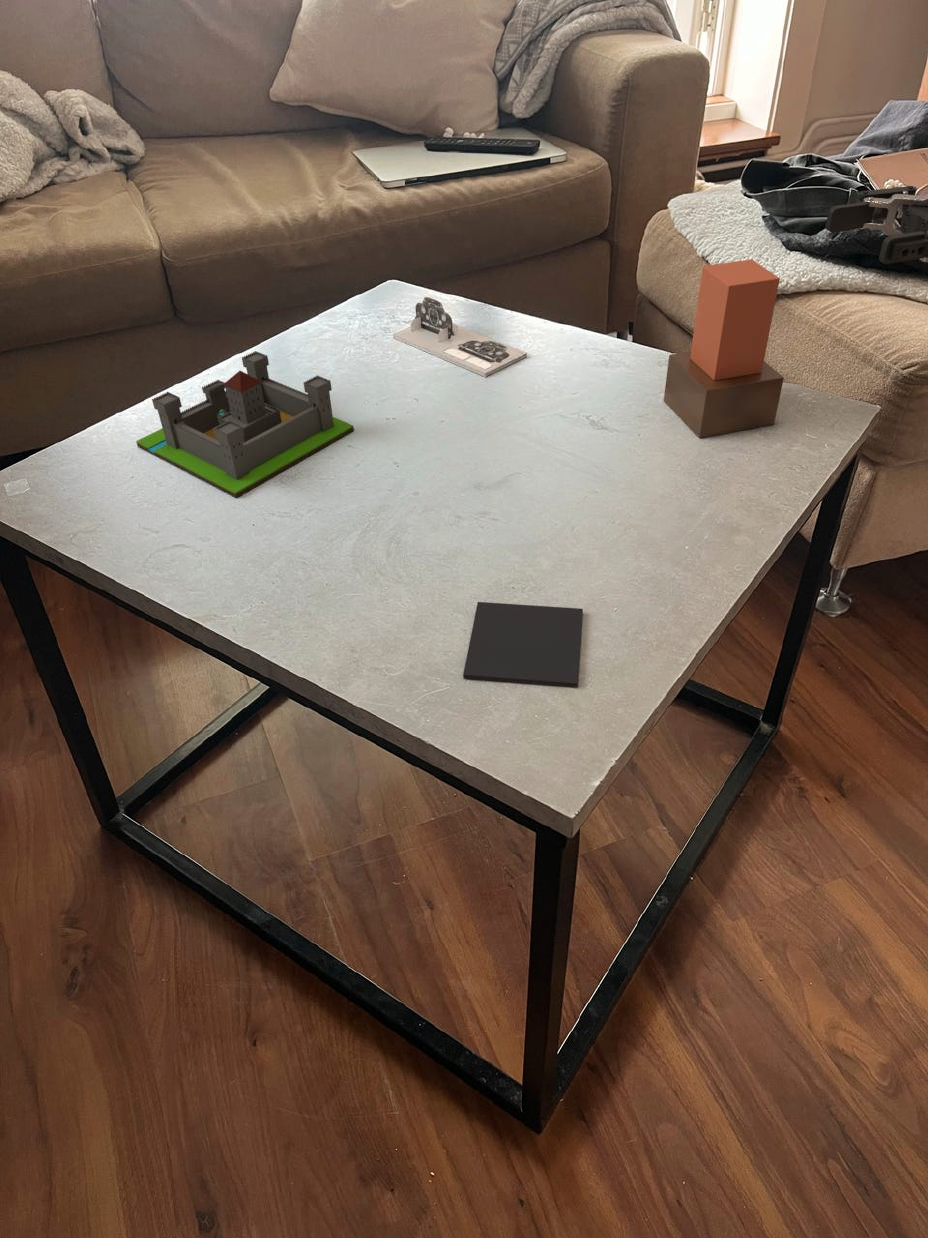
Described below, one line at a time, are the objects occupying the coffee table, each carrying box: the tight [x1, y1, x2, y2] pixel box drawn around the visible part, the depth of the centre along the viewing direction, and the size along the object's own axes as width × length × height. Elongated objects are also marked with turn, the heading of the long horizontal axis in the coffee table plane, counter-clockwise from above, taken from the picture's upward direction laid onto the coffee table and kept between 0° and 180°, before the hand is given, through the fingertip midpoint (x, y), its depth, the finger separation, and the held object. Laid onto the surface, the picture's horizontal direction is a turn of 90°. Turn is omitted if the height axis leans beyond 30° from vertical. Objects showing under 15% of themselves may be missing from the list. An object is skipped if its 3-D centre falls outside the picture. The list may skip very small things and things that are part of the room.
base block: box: [663, 350, 785, 439], centre depth 91 cm, size 8×8×5 cm
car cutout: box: [392, 296, 528, 378], centre depth 104 cm, size 15×7×4 cm, turn 45°
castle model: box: [136, 350, 355, 499], centre depth 89 cm, size 15×15×7 cm
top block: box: [690, 259, 781, 381], centre depth 86 cm, size 5×5×9 cm
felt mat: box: [462, 601, 584, 688], centre depth 67 cm, size 8×8×1 cm
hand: (855, 234), depth 84 cm, fingers open, 8 cm apart
